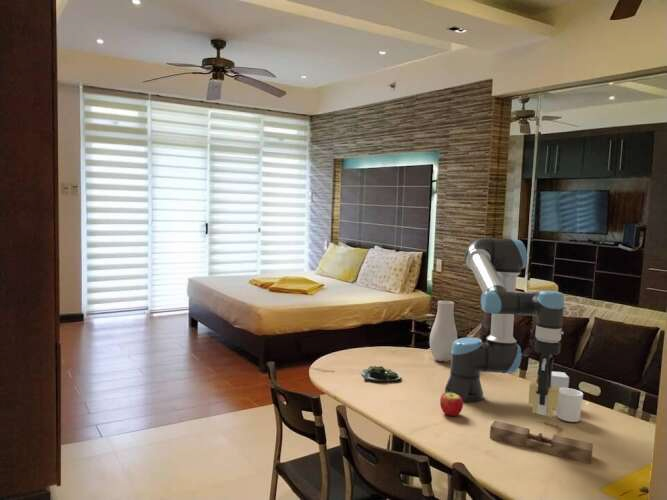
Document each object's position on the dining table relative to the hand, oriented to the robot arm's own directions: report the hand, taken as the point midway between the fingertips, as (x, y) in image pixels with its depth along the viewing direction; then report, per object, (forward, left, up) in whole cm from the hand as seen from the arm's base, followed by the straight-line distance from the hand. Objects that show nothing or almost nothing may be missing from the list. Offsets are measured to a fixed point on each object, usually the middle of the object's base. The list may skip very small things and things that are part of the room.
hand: (542, 412), depth 166 cm
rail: (0, 0, -12) cm, 12 cm away
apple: (-32, +9, -12) cm, 35 cm away
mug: (+4, +32, -12) cm, 35 cm away
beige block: (0, 0, 0) cm, 0 cm away
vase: (-58, +77, -12) cm, 97 cm away
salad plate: (-72, +32, -12) cm, 79 cm away
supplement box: (-1, +45, -12) cm, 47 cm away
